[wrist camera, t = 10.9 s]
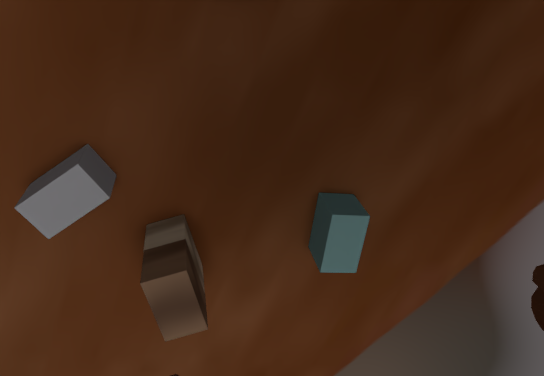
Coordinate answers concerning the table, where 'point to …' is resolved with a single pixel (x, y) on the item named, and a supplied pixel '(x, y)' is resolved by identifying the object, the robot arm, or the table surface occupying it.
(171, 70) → the table surface
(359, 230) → the teal block
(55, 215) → the grey block
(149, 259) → the walnut block
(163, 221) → the maple block
